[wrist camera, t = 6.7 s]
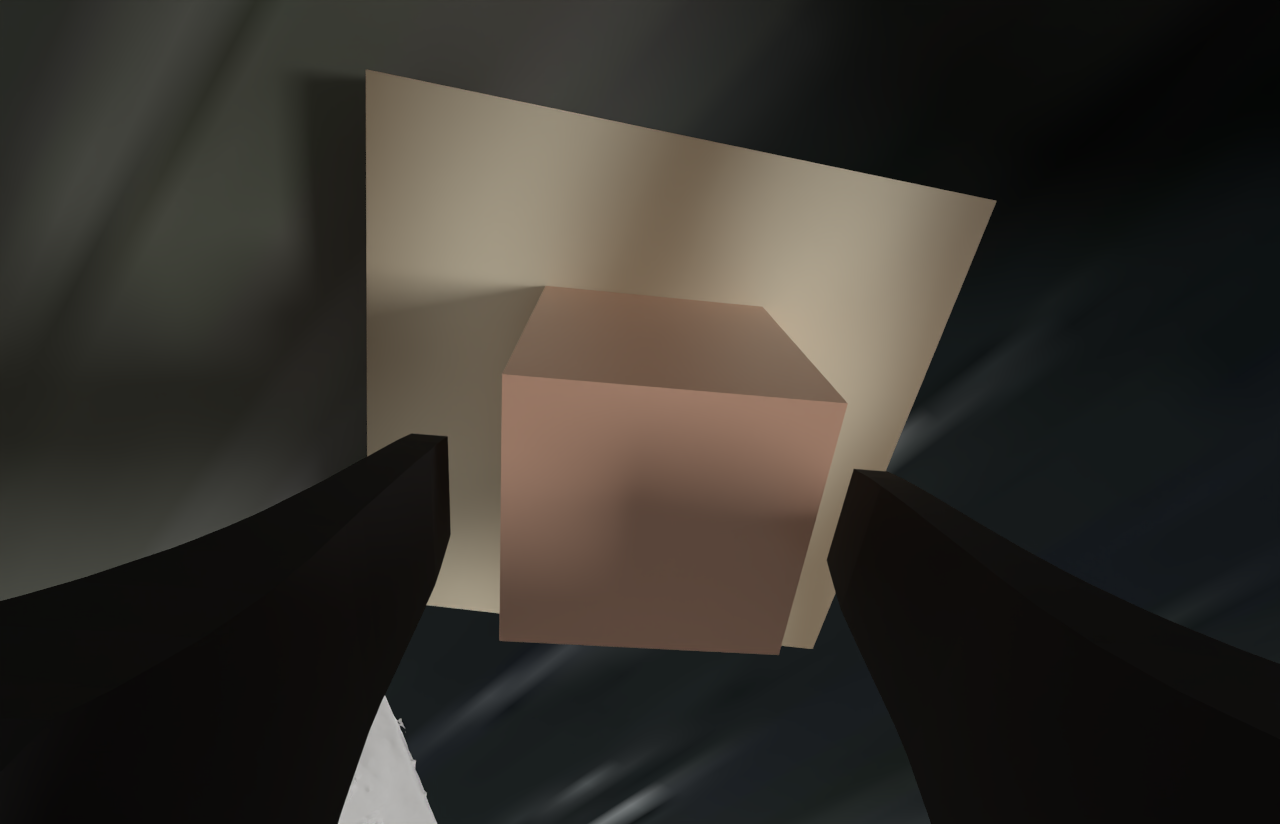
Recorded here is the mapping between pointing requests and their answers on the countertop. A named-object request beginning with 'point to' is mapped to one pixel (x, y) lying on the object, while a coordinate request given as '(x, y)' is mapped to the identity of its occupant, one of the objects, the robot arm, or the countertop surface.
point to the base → (630, 280)
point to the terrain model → (386, 779)
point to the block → (658, 473)
